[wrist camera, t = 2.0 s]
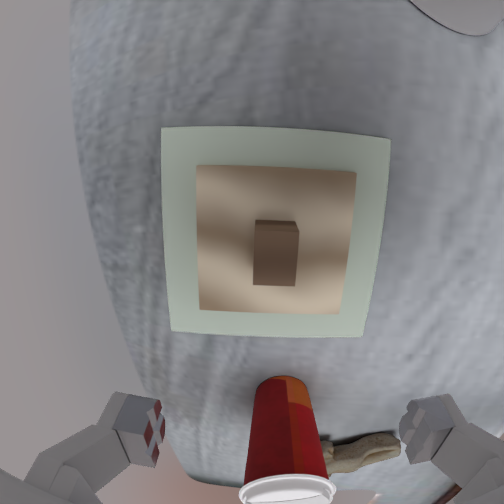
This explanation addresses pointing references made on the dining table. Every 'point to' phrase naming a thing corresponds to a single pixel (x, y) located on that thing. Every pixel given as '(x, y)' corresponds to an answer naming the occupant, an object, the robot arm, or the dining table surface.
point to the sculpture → (359, 452)
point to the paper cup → (285, 448)
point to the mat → (278, 155)
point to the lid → (273, 238)
